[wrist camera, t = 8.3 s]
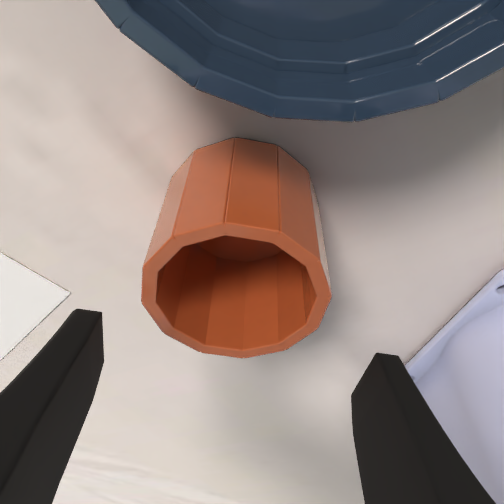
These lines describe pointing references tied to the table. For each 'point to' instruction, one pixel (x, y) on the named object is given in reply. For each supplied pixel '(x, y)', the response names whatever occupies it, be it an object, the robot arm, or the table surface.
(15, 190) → the table surface
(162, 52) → the serving bowl
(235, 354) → the orange hollow tube
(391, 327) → the table surface
